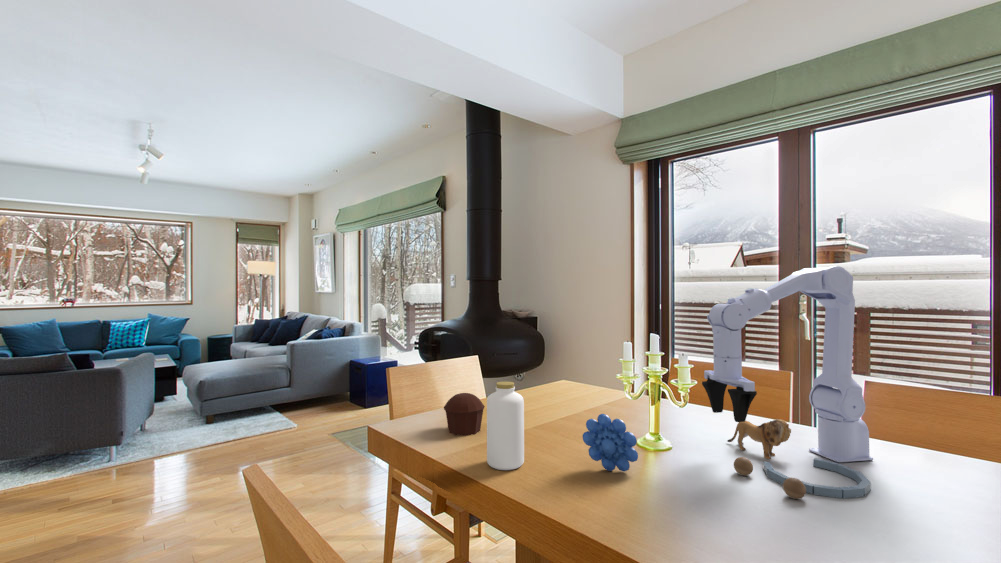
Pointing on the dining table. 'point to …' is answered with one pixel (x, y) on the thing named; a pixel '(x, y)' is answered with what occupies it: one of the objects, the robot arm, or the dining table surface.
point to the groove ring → (829, 491)
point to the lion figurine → (763, 434)
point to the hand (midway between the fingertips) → (728, 416)
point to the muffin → (464, 414)
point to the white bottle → (505, 427)
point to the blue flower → (610, 443)
